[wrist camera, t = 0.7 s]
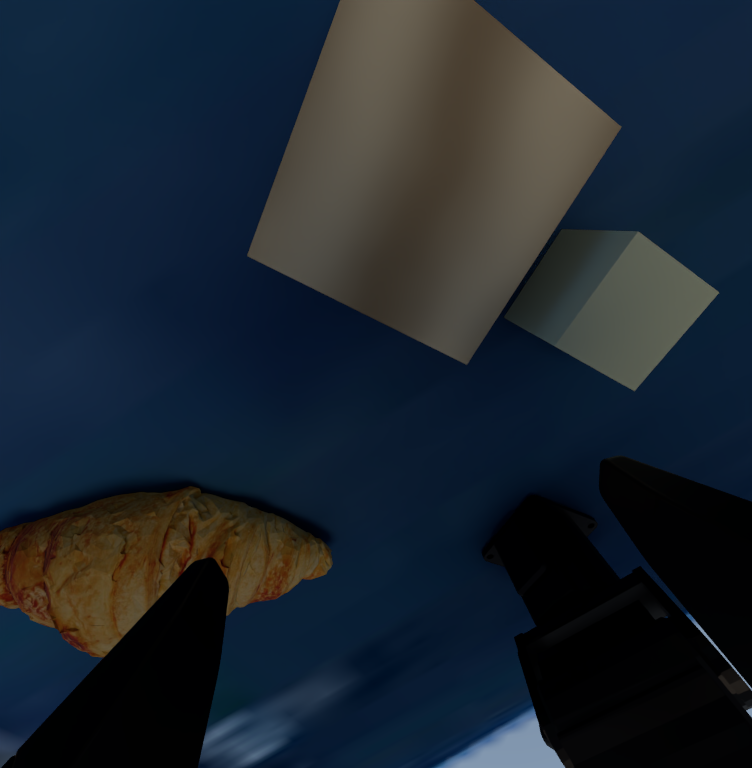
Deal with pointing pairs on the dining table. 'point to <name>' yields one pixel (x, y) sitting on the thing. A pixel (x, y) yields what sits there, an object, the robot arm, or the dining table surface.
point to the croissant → (146, 560)
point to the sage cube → (610, 301)
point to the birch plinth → (427, 168)
